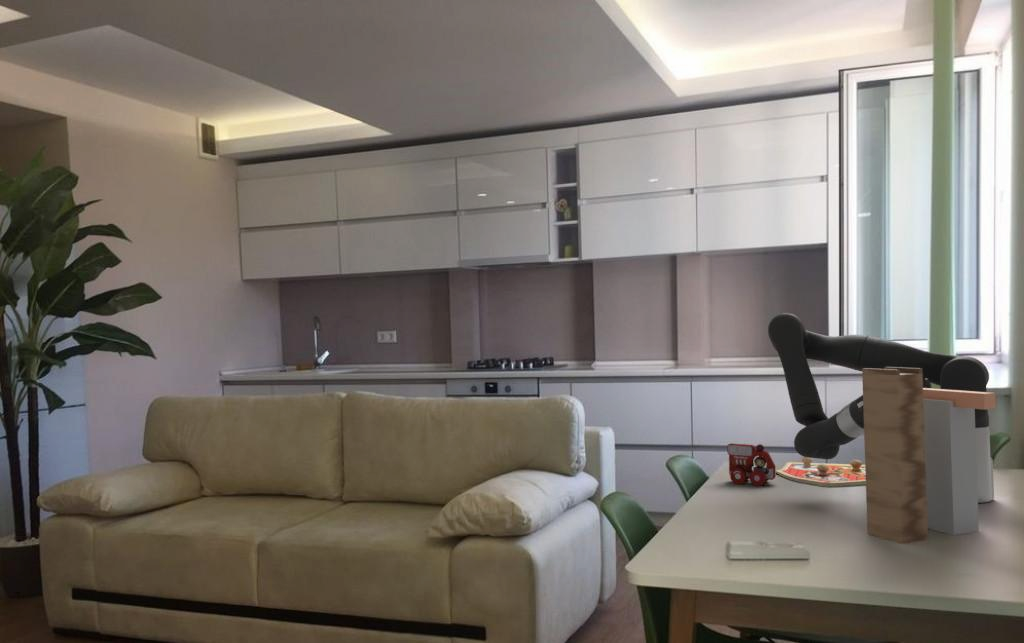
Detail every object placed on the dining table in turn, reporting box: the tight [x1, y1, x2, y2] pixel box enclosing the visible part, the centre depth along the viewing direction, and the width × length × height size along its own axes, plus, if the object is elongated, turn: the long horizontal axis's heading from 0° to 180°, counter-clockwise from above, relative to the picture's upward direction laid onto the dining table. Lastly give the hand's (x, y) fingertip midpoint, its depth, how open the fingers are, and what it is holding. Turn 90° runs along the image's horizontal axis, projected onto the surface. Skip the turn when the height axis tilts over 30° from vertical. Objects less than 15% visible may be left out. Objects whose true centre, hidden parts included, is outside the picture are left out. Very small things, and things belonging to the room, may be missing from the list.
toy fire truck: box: [726, 442, 777, 487], centre depth 206 cm, size 7×12×10 cm, turn 58°
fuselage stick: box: [923, 387, 997, 410], centre depth 158 cm, size 3×22×3 cm, turn 22°
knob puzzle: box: [775, 456, 866, 488], centre depth 212 cm, size 29×30×4 cm
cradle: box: [923, 399, 980, 536], centre depth 157 cm, size 7×9×26 cm
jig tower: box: [861, 367, 929, 545], centre depth 152 cm, size 7×8×33 cm
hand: (914, 383), depth 163 cm, fingers open, 8 cm apart
